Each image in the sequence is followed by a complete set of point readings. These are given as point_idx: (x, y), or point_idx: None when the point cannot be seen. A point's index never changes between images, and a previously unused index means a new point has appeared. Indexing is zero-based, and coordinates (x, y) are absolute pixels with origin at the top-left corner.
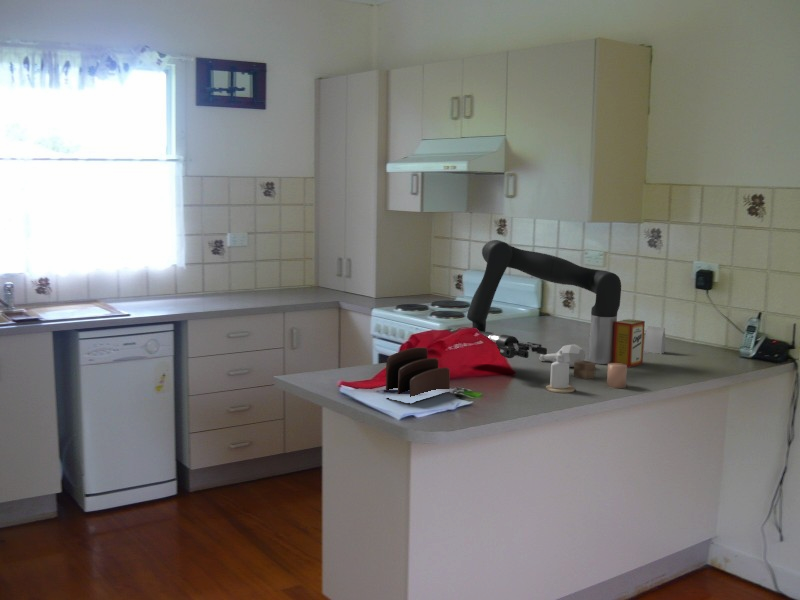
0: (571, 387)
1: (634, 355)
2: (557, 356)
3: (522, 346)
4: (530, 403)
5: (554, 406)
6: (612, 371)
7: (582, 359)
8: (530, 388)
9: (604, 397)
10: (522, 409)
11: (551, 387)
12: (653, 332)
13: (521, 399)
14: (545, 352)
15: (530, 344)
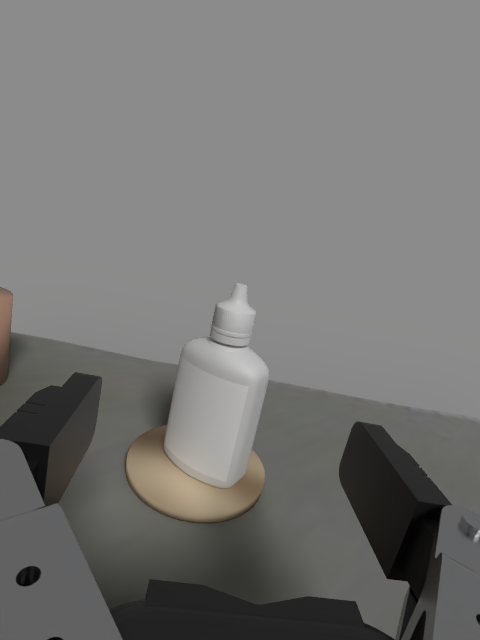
0: (154, 437)
1: None
2: (254, 319)
3: (249, 638)
4: (423, 453)
5: (360, 411)
6: (9, 318)
7: None
8: (322, 568)
9: (165, 372)
10: (466, 442)
11: (242, 476)
12: None
13: (444, 489)
14: (95, 411)
15: (60, 515)
